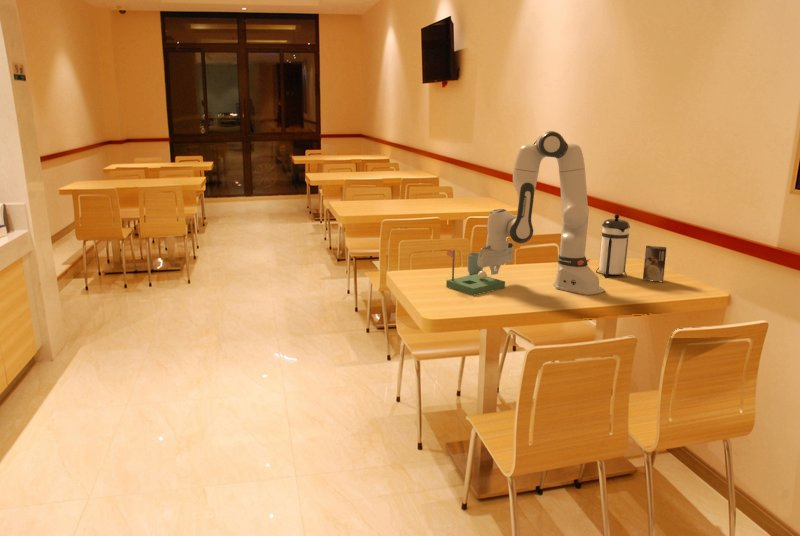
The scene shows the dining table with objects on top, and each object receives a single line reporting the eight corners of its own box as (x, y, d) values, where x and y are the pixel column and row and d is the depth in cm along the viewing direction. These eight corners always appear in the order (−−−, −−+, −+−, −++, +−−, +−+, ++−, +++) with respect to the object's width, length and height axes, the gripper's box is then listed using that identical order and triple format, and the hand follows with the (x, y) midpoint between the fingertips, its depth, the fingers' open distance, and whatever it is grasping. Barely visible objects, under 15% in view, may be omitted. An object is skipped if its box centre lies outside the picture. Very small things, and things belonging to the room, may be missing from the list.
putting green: (504, 287, 278) (506, 251, 274) (472, 295, 266) (474, 256, 262) (474, 278, 292) (475, 243, 288) (442, 285, 280) (443, 248, 276)
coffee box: (663, 279, 295) (666, 246, 291) (663, 282, 290) (667, 249, 286) (642, 277, 299) (646, 245, 295) (642, 280, 293) (645, 247, 289)
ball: (488, 279, 279) (488, 271, 279) (482, 281, 277) (482, 272, 276) (482, 277, 283) (482, 269, 282) (475, 279, 280) (476, 270, 279)
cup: (482, 272, 304) (483, 253, 301) (483, 276, 296) (484, 256, 294) (466, 272, 304) (467, 252, 302) (466, 276, 297) (467, 256, 295)
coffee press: (632, 274, 305) (639, 214, 297) (619, 280, 293) (626, 217, 286) (599, 268, 316) (604, 210, 308) (585, 274, 304) (590, 213, 297)
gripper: (484, 248, 273) (483, 278, 276) (516, 243, 285) (514, 272, 288) (474, 246, 277) (473, 275, 281) (506, 241, 290) (504, 269, 293)
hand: (494, 274), depth 285 cm, fingers closed
